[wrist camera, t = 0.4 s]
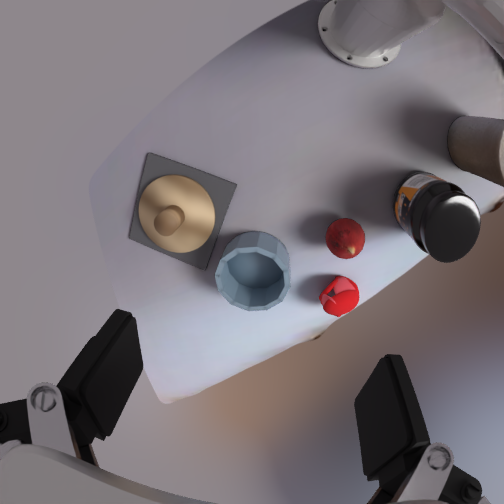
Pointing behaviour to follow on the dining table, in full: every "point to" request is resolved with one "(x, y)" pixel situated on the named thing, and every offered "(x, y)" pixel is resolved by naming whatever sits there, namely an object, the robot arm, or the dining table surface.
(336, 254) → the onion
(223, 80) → the dining table surface
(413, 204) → the supplement container
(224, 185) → the mat
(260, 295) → the bowl
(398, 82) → the dining table surface
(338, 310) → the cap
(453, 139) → the pillar candle
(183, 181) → the lid
